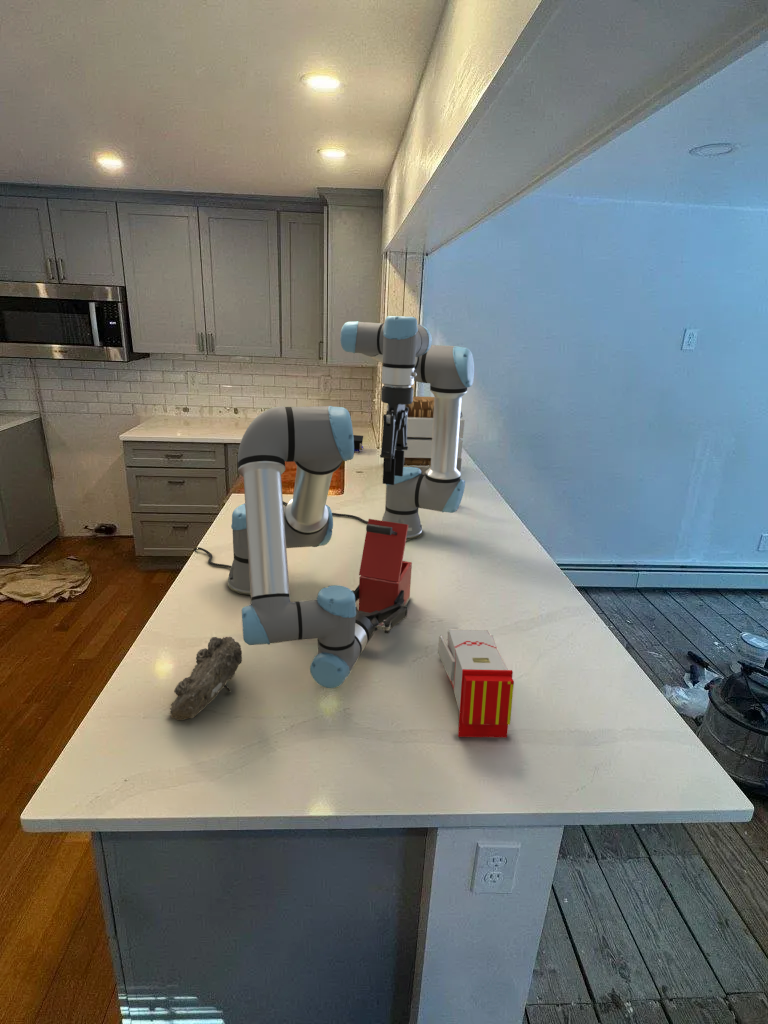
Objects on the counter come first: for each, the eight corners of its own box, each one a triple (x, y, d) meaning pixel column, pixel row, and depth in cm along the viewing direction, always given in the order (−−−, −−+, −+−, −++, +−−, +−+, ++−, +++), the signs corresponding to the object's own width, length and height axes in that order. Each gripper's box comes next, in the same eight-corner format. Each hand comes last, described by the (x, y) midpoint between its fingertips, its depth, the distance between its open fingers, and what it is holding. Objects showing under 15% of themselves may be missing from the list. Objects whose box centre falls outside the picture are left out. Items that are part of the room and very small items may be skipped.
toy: (488, 613, 130) (523, 677, 101) (484, 667, 133) (517, 744, 104) (435, 612, 130) (455, 676, 101) (432, 666, 133) (451, 743, 103)
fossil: (193, 639, 125) (242, 608, 120) (224, 667, 128) (272, 638, 123) (147, 714, 105) (202, 680, 100) (184, 746, 108) (239, 715, 103)
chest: (374, 592, 158) (375, 556, 154) (409, 598, 155) (412, 562, 151) (358, 615, 146) (359, 577, 142) (396, 623, 143) (398, 584, 139)
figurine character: (362, 456, 306) (363, 447, 319) (363, 443, 302) (363, 434, 316) (350, 456, 306) (351, 446, 319) (350, 442, 302) (351, 433, 316)
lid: (369, 519, 144) (359, 514, 135) (408, 525, 141) (401, 520, 132) (360, 575, 142) (349, 574, 134) (399, 582, 140) (390, 581, 131)
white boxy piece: (382, 463, 289) (386, 382, 275) (445, 464, 293) (451, 384, 279) (390, 482, 257) (394, 392, 243) (460, 483, 261) (468, 394, 247)
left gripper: (305, 640, 129) (340, 596, 149) (401, 660, 123) (424, 612, 143) (304, 611, 127) (340, 570, 147) (402, 630, 121) (426, 585, 141)
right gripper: (401, 392, 122) (396, 493, 130) (423, 382, 141) (417, 471, 148) (368, 389, 124) (365, 488, 132) (394, 380, 143) (389, 467, 150)
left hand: (381, 591), depth 145 cm, fingers closed on chest, 10 cm apart
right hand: (393, 479), depth 140 cm, fingers open, 7 cm apart
